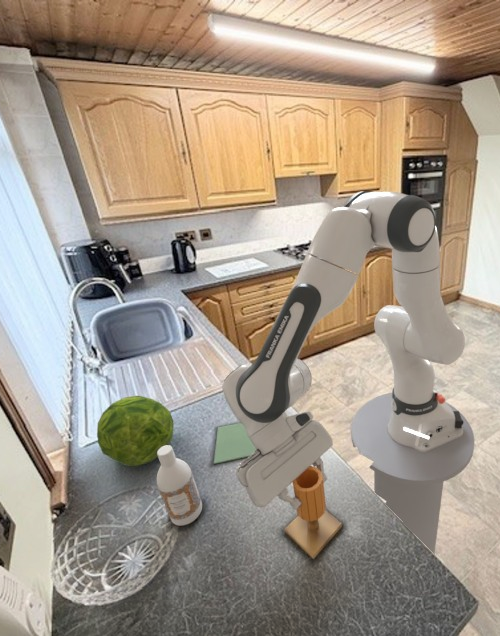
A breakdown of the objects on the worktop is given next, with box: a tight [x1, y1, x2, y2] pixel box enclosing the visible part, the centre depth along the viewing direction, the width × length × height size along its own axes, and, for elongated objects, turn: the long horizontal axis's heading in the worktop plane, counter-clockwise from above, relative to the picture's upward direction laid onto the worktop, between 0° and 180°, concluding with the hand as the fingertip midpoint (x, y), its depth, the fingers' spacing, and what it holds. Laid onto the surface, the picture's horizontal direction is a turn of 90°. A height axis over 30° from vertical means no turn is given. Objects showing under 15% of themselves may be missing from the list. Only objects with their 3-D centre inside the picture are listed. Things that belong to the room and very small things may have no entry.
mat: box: [213, 422, 256, 465], centre depth 101 cm, size 14×14×1 cm
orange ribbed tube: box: [292, 465, 327, 521], centre depth 72 cm, size 6×6×9 cm
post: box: [283, 509, 343, 560], centre depth 75 cm, size 9×9×7 cm
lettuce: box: [96, 395, 174, 467], centre depth 96 cm, size 17×23×17 cm
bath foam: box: [156, 444, 203, 527], centre depth 77 cm, size 7×7×20 cm
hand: (311, 493), depth 71 cm, fingers closed on orange ribbed tube, 6 cm apart
